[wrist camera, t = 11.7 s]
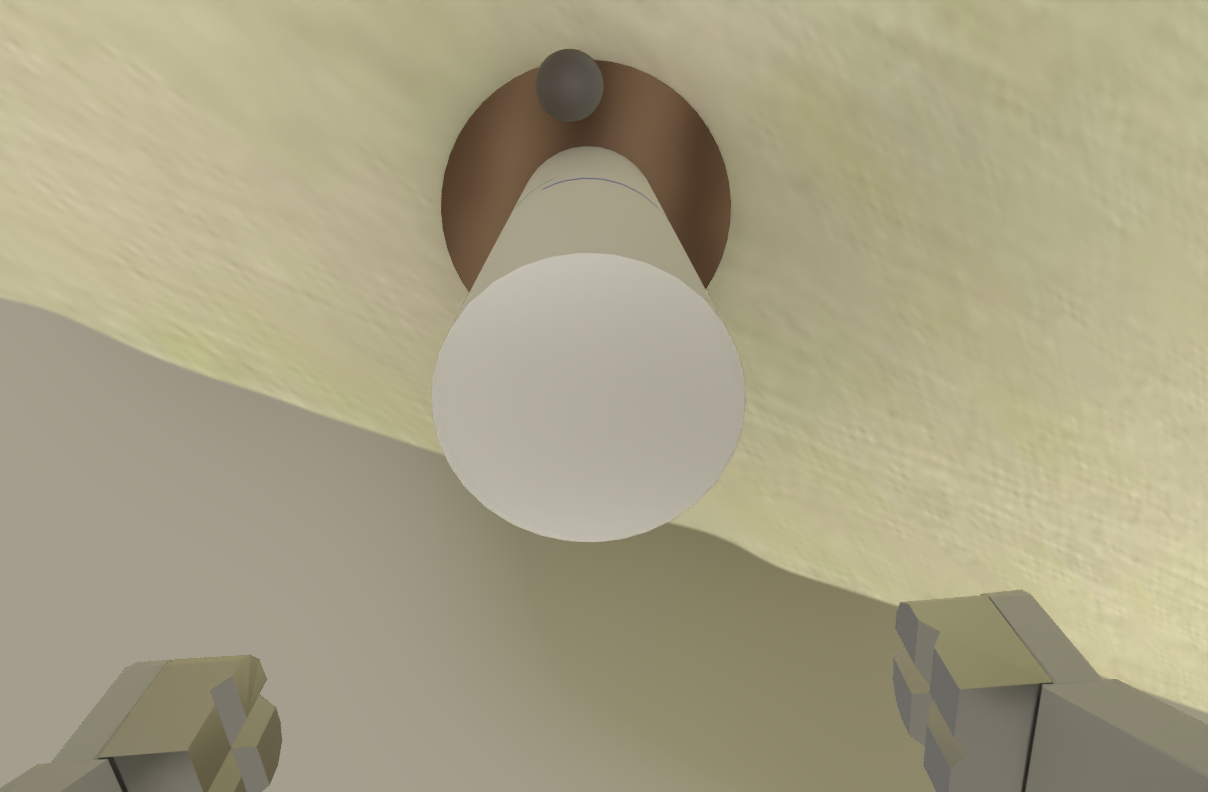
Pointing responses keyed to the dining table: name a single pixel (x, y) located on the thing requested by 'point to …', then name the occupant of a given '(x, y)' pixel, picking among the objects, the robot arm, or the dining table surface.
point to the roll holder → (574, 119)
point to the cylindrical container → (588, 362)
